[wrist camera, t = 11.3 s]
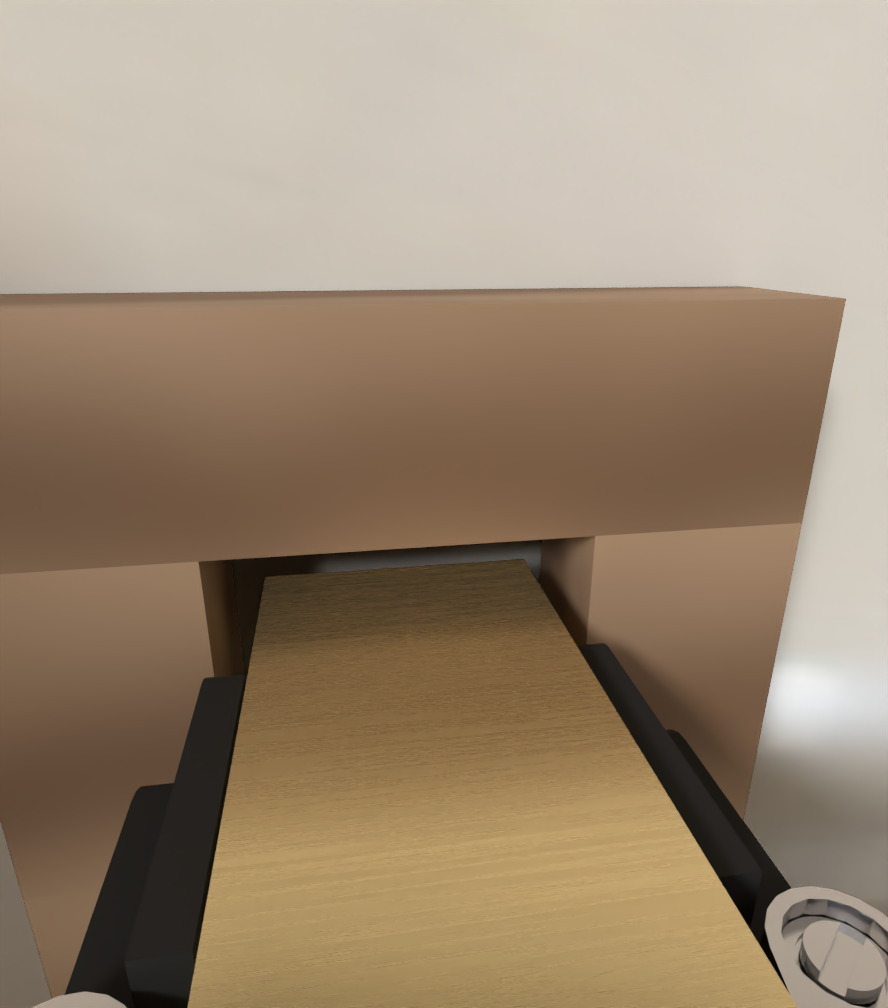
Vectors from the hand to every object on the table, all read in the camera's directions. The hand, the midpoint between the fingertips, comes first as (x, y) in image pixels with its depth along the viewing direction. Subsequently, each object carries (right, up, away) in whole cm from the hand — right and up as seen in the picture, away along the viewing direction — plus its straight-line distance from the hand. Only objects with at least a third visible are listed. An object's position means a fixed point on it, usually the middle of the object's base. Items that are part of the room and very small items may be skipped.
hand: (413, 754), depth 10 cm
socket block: (0, -4, +5) cm, 7 cm away
